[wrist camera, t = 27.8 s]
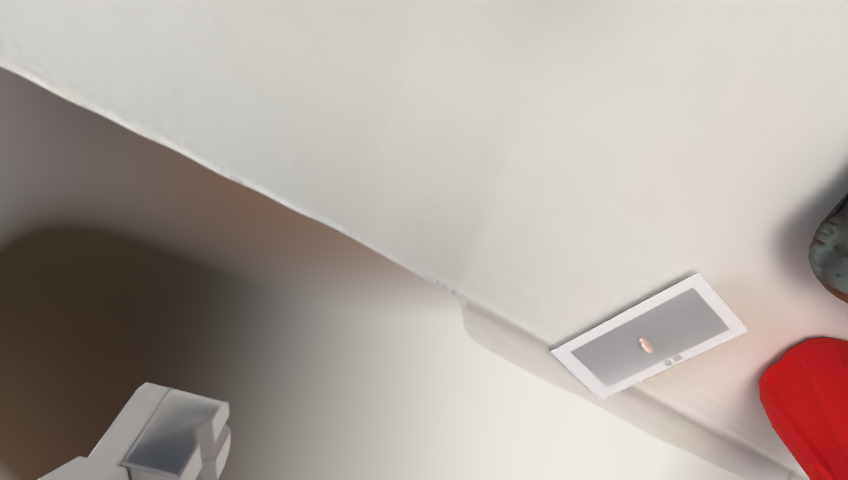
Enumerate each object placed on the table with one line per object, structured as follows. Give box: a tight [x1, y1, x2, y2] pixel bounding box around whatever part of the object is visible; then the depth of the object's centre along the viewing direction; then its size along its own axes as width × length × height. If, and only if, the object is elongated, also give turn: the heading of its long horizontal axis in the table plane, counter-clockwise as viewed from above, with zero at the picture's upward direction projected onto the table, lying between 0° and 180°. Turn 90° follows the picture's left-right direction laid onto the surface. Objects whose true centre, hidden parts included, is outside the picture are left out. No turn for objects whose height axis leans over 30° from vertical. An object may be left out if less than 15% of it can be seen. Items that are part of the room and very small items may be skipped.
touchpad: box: [550, 272, 749, 400], centre depth 55 cm, size 8×15×2 cm, turn 134°
